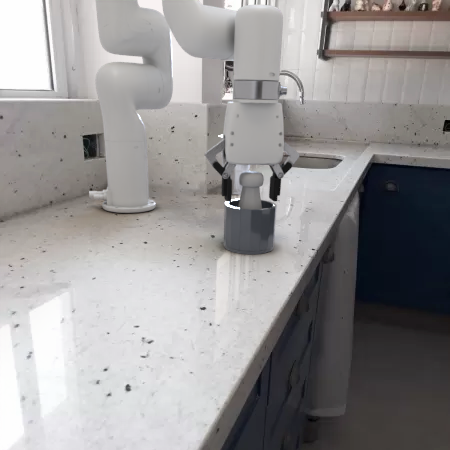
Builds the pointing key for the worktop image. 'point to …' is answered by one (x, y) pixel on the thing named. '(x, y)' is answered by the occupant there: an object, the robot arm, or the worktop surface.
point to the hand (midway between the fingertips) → (250, 199)
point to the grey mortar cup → (249, 228)
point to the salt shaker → (250, 190)
